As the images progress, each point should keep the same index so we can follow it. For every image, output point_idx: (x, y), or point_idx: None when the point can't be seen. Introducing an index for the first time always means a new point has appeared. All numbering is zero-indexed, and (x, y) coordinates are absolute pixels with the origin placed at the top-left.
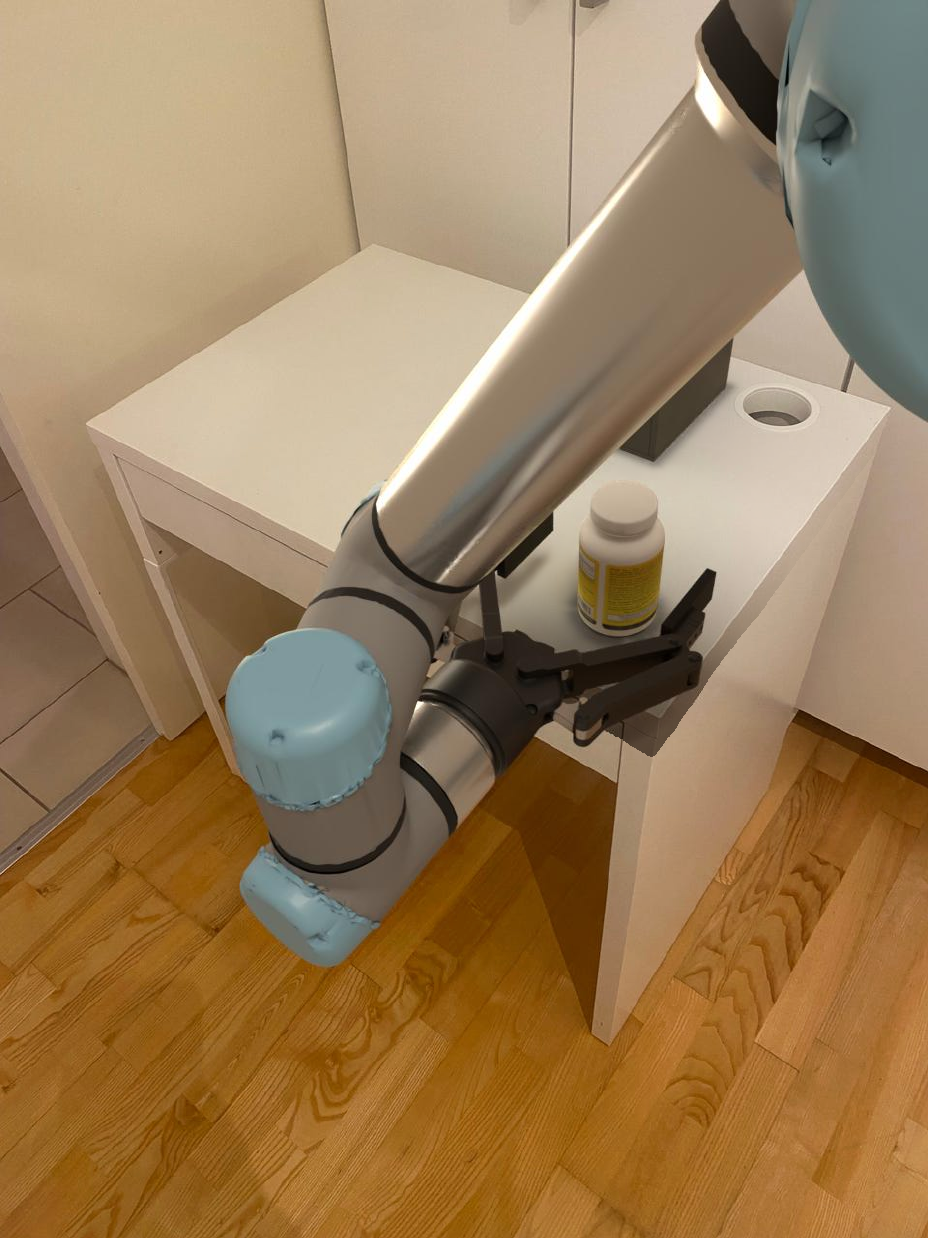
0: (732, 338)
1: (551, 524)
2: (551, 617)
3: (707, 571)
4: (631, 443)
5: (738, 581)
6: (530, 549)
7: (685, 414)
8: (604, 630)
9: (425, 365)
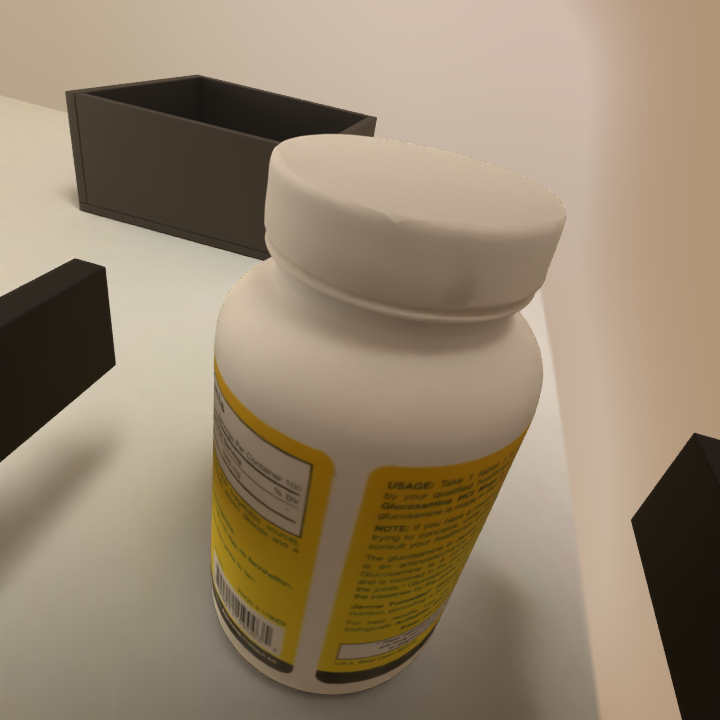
0: (373, 132)
1: (105, 343)
2: (123, 657)
3: (710, 445)
4: (264, 242)
5: (539, 453)
6: (14, 431)
7: None
8: (321, 687)
9: None
